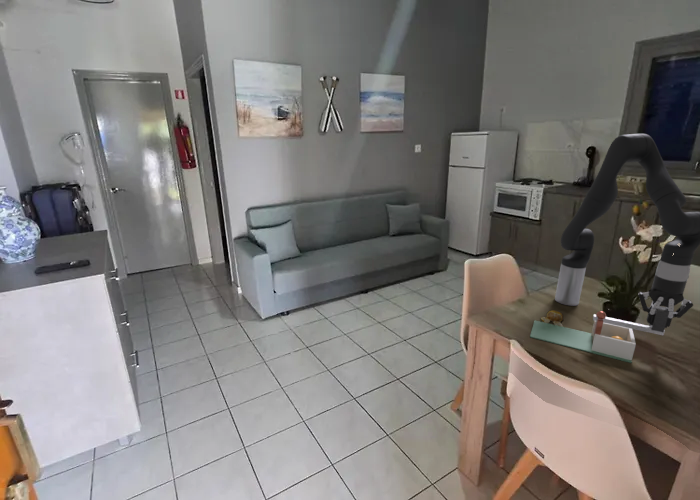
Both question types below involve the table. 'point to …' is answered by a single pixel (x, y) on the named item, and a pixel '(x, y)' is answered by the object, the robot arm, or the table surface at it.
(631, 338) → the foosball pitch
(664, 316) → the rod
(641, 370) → the table surface
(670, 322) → the robot arm
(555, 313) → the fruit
